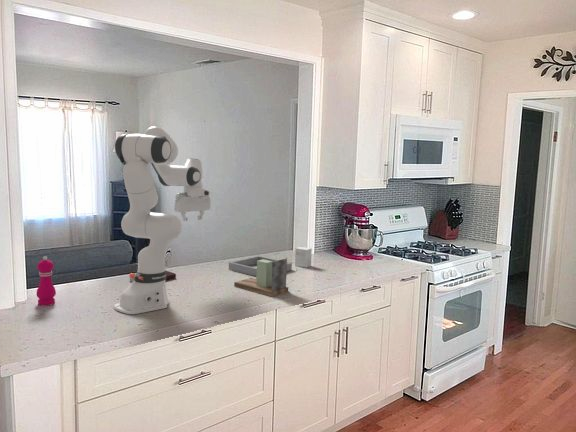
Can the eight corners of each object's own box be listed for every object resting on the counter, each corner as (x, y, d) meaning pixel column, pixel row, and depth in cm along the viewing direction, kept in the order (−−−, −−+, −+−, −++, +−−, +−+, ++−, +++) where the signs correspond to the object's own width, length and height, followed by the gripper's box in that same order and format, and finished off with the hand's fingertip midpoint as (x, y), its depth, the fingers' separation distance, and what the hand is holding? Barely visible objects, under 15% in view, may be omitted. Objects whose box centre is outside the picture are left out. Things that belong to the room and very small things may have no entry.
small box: (311, 266, 290) (312, 248, 289) (306, 267, 286) (307, 249, 284) (299, 264, 295) (300, 246, 293) (294, 265, 290) (295, 247, 289)
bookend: (272, 296, 228) (273, 262, 226) (234, 286, 243) (235, 254, 241) (288, 291, 238) (289, 258, 236) (250, 281, 252) (251, 250, 250)
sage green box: (265, 287, 235) (266, 262, 234) (256, 285, 239) (256, 260, 237) (271, 285, 239) (272, 261, 237) (262, 283, 242) (263, 259, 241)
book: (176, 279, 253) (176, 272, 253) (146, 287, 237) (146, 280, 237) (159, 275, 260) (159, 268, 260) (128, 282, 244) (128, 276, 244)
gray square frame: (262, 278, 260) (262, 270, 259) (228, 269, 275) (228, 262, 275) (291, 269, 280) (292, 262, 279) (258, 262, 295) (258, 255, 294)
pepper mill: (43, 307, 202) (42, 259, 199) (33, 303, 206) (31, 256, 203) (59, 303, 208) (58, 256, 205) (49, 299, 212) (48, 253, 209)
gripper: (180, 193, 233) (180, 222, 234) (212, 191, 249) (212, 219, 250) (171, 192, 236) (171, 221, 238) (204, 190, 252) (203, 218, 254)
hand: (192, 220), depth 244 cm, fingers open, 8 cm apart
